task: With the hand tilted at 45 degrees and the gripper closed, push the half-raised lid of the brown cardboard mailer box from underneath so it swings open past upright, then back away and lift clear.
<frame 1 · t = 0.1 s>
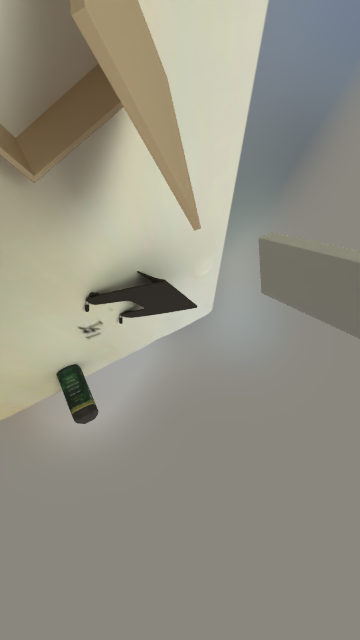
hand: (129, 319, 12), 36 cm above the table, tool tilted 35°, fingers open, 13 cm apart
portable electronic device stand: (131, 287, 79), on the table
mailer lid: (142, 61, 21), point 17 cm above the table, hinge at 70.0°
coffee jar: (68, 370, 103), on the table
mailer box: (13, 16, 28), on the table
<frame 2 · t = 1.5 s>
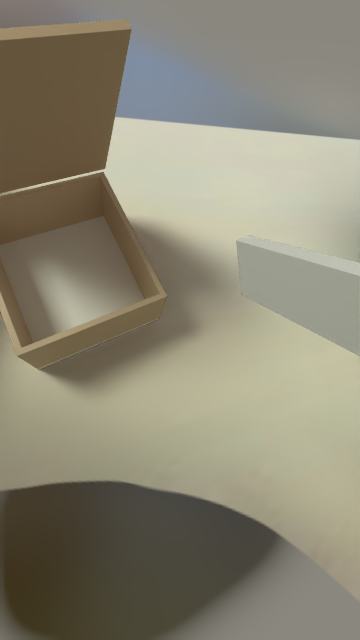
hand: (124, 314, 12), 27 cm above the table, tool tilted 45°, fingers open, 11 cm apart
mailer lid: (20, 134, 25), point 17 cm above the table, hinge at 70.0°
mailer box: (75, 283, 40), on the table
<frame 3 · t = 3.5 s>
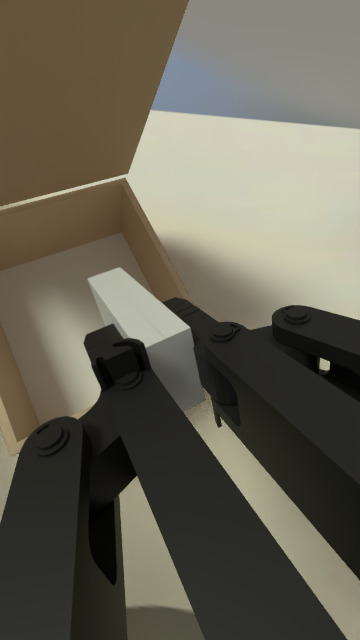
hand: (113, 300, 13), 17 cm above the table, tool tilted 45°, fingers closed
mailer lid: (11, 123, 16), point 17 cm above the table, hinge at 70.0°
mailer box: (88, 322, 31), on the table
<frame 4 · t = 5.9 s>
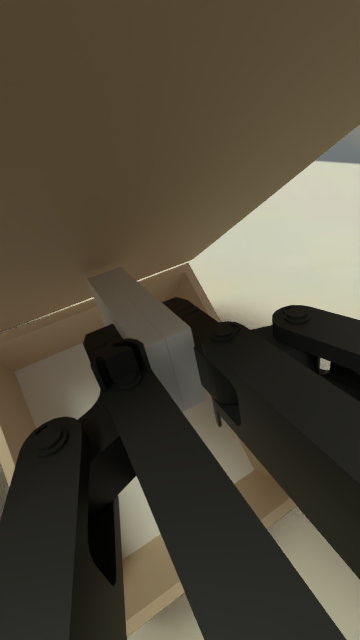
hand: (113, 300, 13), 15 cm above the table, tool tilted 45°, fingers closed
mailer lid: (86, 254, 11), point 18 cm above the table, hinge at 75.6°, touching gripper
mailer box: (137, 421, 26), on the table
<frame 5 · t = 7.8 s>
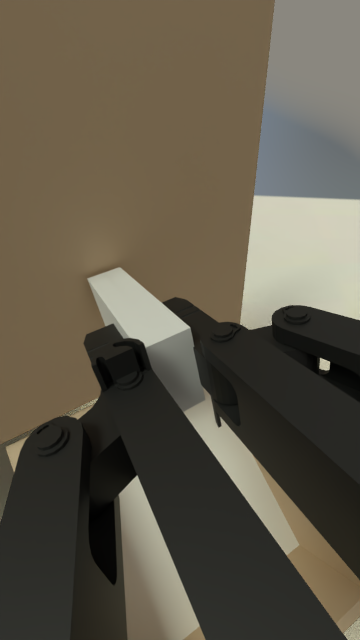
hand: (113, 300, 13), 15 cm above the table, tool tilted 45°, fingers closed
mailer lid: (93, 251, 13), point 16 cm above the table, hinge at 120.2°, touching gripper
mailer box: (175, 493, 25), on the table
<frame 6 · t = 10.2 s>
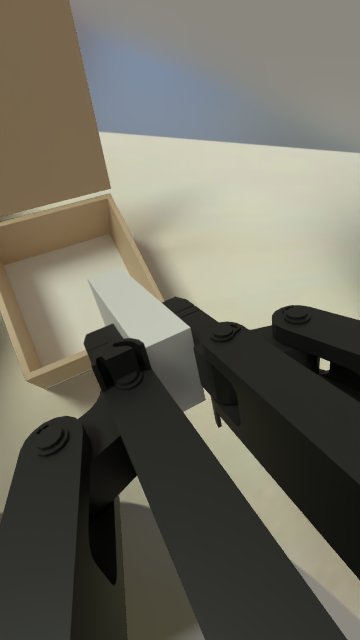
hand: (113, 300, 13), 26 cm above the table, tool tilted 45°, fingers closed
mailer lid: (5, 108, 28), point 16 cm above the table, hinge at 120.2°
mailer box: (82, 302, 40), on the table
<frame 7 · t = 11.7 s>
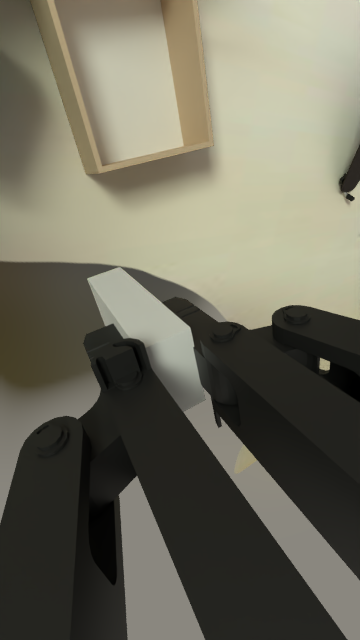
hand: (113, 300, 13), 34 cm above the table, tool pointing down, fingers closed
mailer box: (120, 85, 39), on the table
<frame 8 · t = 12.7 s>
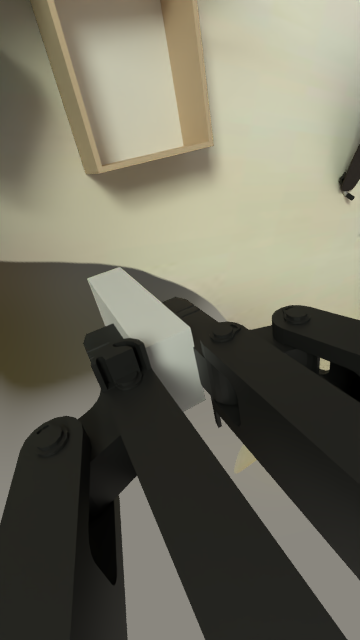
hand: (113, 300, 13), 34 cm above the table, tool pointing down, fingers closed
mailer box: (120, 85, 39), on the table
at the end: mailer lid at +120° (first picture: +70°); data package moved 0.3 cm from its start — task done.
